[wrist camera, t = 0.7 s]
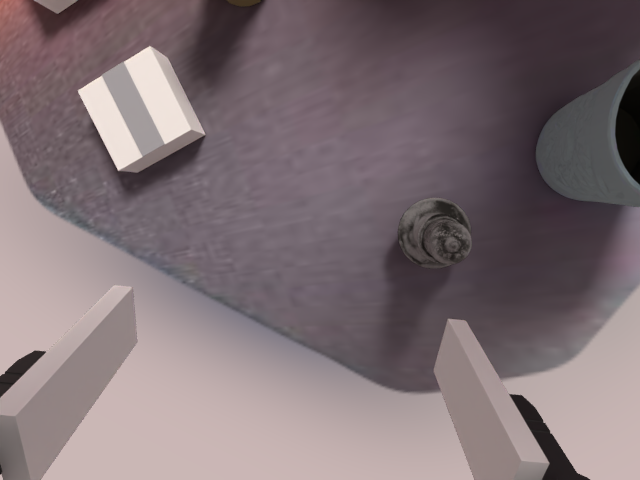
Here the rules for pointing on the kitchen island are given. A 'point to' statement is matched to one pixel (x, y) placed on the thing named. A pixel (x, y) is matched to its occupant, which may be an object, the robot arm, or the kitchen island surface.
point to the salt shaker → (435, 233)
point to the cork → (243, 2)
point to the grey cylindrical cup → (596, 143)
